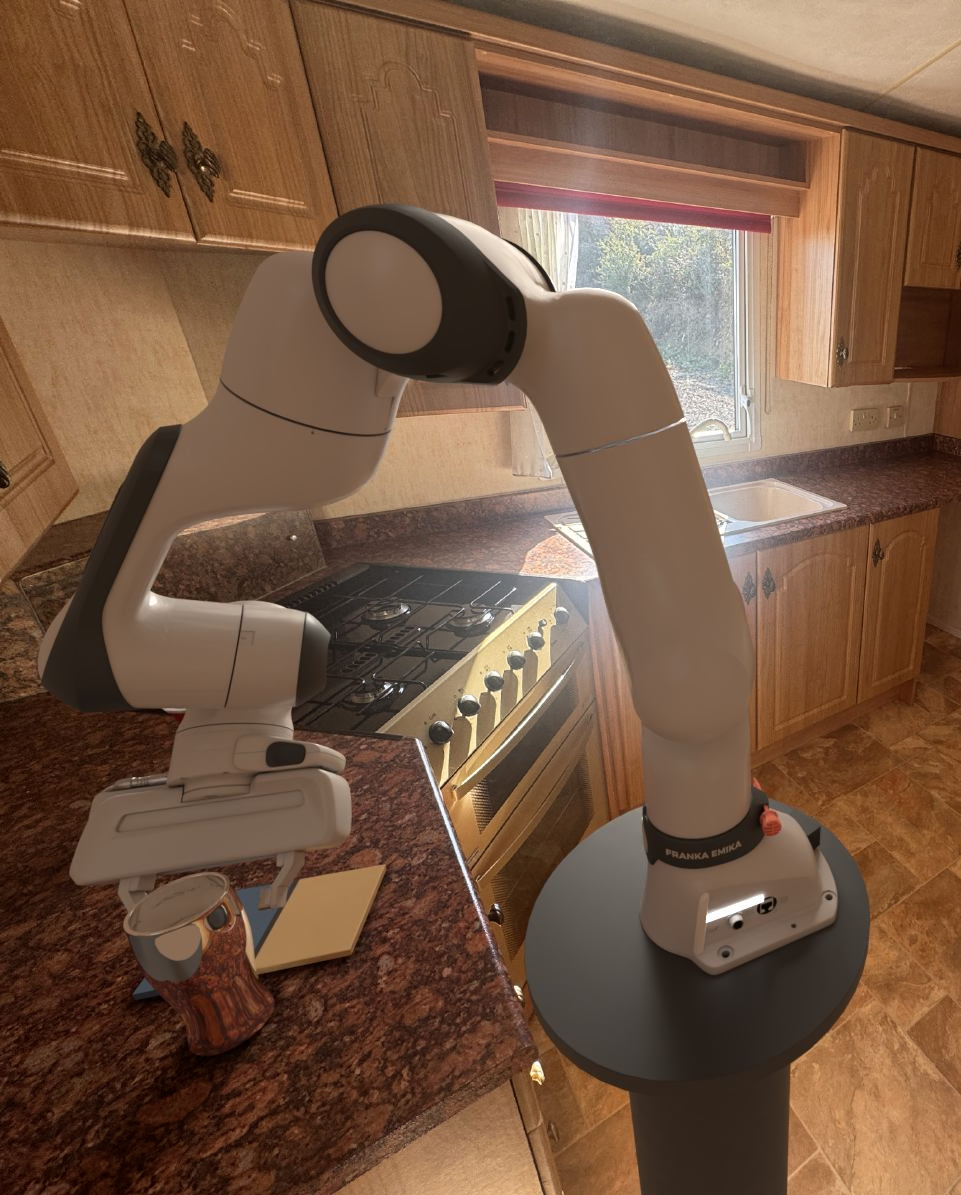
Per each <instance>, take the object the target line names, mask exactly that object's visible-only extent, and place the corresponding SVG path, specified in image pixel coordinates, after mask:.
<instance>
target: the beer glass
mask: <svg viewBox="0 0 961 1195" xmlns="http://www.w3.org/2000/svg"><path fill="white" fill-rule="evenodd" d="M122 927H123V930H124V932H125V934H126V937H127V940H128V944H129V946H130V947H129V948H130V949H131V953H132V956H133V958H134V960H135V963H136V964H137V967H138V969H139V971H140V972H141V974H142V976H143V977H144V978H145V979H146V980H147V981H148V982H149V984H150V985H151V986H152V987H153V988H154V990H155V991H156V992H157V993H158V994H159V995H158V996H160V997H161V998H162V999H163V1000H164V1001H165V1002H167V1004H168V1005H170V1006H171V1007H172V1009H174V1010H175V1012H176V1013H178V1015H179V1016H180V1018H181V1019H182V1021H183V1023H184V1025H185V1029H186V1037H187V1045H188V1049H189V1051H190V1052H191V1053H193V1054H194V1055H195V1056H199V1057H213V1056H217V1055H221V1054H224V1053H226V1052H228V1051H231V1050H233V1049H235V1048H237V1047H239V1046H240V1045H242V1044H244V1043H245V1042H247V1041H248V1040H249V1039H251V1038H252V1037H253V1036H255V1035H256V1034H257V1033H258V1032H259V1031H260V1030H262V1028H263V1027H264V1026H265V1025H266V1023H267V1022H268V1021H269V1019H270V1017H272V1016H271V1015H272V1014H273V1012H274V1009H275V1003H276V1002H275V997H274V995H273V993H272V992H271V990H269V988H268V987H267V986H266V985H265V984H264V983H263V981H261V978H260V977H259V974H257V971H256V965H255V955H254V945H253V936H252V931H251V925H250V922H249V919H248V916H247V913H246V911H245V909H244V907H243V904H242V902H241V900H240V899H239V897H238V895H237V893H236V892H235V889H234V887H233V885H232V883H231V882H230V878H229V877H228V876H227V875H226V874H225V873H222V872H219V871H202V872H197V873H192V874H189V875H185V876H182V877H180V878H177V879H174V880H173V881H170V882H168V883H166V884H164V885H162V886H160V887H158V888H156V889H155V890H152V891H151V892H150V893H148V894H147V896H145V897H144V898H143V899H141V900H140V901H139V902H138V903H137V904H136V905H135V906H134V907H133V908H132V909H131V910H130V911H129V912H128V911H127V913H126V915H125V917H124V919H123V923H122Z"/></svg>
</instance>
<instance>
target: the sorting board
mask: <svg viewBox="0 0 961 1195" xmlns="http://www.w3.org/2000/svg"><path fill="white" fill-rule="evenodd" d="M386 871H387V866H386V864H385V863H384V864H379V865H378V864H377V865H373V866H367V867H361V868H356V869H351V870H345V871H338V872H332V873H327V874H322V875H316V876H311V877H305V878H297V879H294V880H293V881H292V883H291V884H290V886H288V889H287V898H286V904H285V906H284V907H280V908H275V909H269V910H261V911H259V910H258V908H257V905H258V902H259V901H260V899H259V898H258V897H259V890H261V889H266V888H271V887H270V886H271V885H272V883H270V884H265V885H258V886H253V887H252V886H251V887H248V888H241V889H236V890H235V889H234V890H235V892H236V893H237V895H238V897H239V899H240V900H241V902H242V904H243V907H244V909H245V911H246V913H247V916H248V919H249V922H250V925H251V931H252V936H253V945H254V955H255V965H256V971H257V974H258V975H262V974H267V973H273V972H276V971H281V970H287V969H291V968H295V967H300V966H305V965H311V964H315V963H320V962H325V961H329V960H334V959H339V958H345V957H348V956H349V957H350V956H352V955H353V953H354V950H355V948H356V945H357V943H358V940H359V939H360V936H361V933H362V930H363V928H364V927H365V926H364V925H365V923H366V921H367V918H368V915H369V914H370V911H371V908H372V906H373V903H374V901H375V898H376V896H377V893H378V892H379V891H378V890H379V888H380V886H381V884H382V882H383V879H384V876H385V874H386ZM131 996H132V997H133V1000H134V1001H139V1000H143V999H148V998H153V997H159V996H160V995H159V994H158V993H157V992H156V991H155V990H154V988H153V987H152V986H151V985H150V984H149V982H148V981H147V980H146V979H145V977H144V978H143V979H142V981H141V982H140V983H139V984H138V985H137V987H136V989H135V990H134V992H132V994H131Z"/></svg>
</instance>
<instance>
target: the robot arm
mask: <svg viewBox="0 0 961 1195" xmlns="http://www.w3.org/2000/svg"><path fill="white" fill-rule="evenodd" d="M314 247H315V248H314V250H313V251H309V250H285V251H280V252H278V253H274V254H272V255H270V256H268V257H266V258H265V259H264V260H263V261H262V262H261V263H260V264H259V266H258V267H257V268H256V269H255V272H254V274H253V276H252V278H251V280H250V281H249V283H248V286H247V288H246V290H245V291H244V292H245V293H244V294H243V297H242V300H241V301H240V304H239V307H238V309H237V312H236V315H235V317H234V320H233V323H232V326H231V329H230V332H229V336H228V340H227V344H226V348H225V351H224V355H223V360H222V365H221V369H220V370H221V371H220V375H219V379H218V383H217V387H216V391H215V393H214V395H213V397H212V398H211V400H210V401H209V403H208V404H207V405H206V406H205V407H204V409H202V411H200V412H199V413H198V414H197V415H195V417H193V418H191V419H190V420H188V421H187V422H185V423H183V424H182V423H178V424H177V423H176V424H170V425H163V426H159V427H157V429H155V430H154V431H153V432H152V433H151V434H150V435H149V436H148V437H147V439H146V440H145V441H144V442H143V444H142V445H141V446H140V448H139V450H138V451H137V453H136V455H135V457H134V459H133V461H132V462H131V463H132V464H131V465H130V468H129V470H128V472H127V474H126V477H125V479H124V480H123V481H122V483H121V484H120V486H119V487H118V489H117V491H116V493H115V496H114V498H113V501H112V502H111V505H110V507H109V509H108V512H107V514H106V516H105V518H104V520H103V524H102V526H101V527H100V531H99V532H98V534H97V537H96V539H95V542H94V544H93V546H92V549H91V551H90V554H89V556H88V557H87V560H86V562H85V566H84V568H83V569H82V572H81V575H82V576H81V578H80V581H79V583H78V585H77V587H76V590H75V592H74V593H73V595H72V596H71V597H70V599H69V600H68V601H67V603H65V605H64V606H63V607H62V609H60V611H59V612H58V613H57V615H56V616H55V617H54V618H53V620H52V622H51V623H50V625H49V626H48V628H47V630H46V632H45V635H44V636H43V638H42V641H41V644H40V647H39V650H38V657H37V669H38V670H37V671H38V676H39V678H40V685H41V686H42V687H43V688H44V689H45V690H46V691H48V692H49V693H50V694H51V695H53V696H54V697H56V698H57V699H58V700H60V701H61V702H63V703H65V704H66V705H68V706H70V707H72V708H73V709H76V710H77V711H79V712H81V713H84V714H86V713H87V714H88V713H105V712H126V711H138V710H141V709H162V708H165V709H186V712H185V715H184V718H183V720H182V722H181V724H179V725H178V727H177V729H176V731H175V735H174V741H173V746H172V752H171V757H170V762H169V767H168V772H164V773H156V774H152V775H151V774H150V775H146V776H141V777H136V776H135V777H133V776H132V777H126V778H125V777H124V778H121V779H118V780H116V781H115V782H114V784H112V785H109V786H107V787H105V788H104V789H102V790H101V791H100V792H99V793H98V794H96V795H95V796H94V798H93V800H92V802H91V805H90V810H89V815H88V820H87V822H86V824H85V826H84V829H83V830H82V832H81V835H80V838H79V841H78V843H77V846H76V848H75V851H74V854H73V857H72V860H71V862H70V867H69V870H68V871H69V872H68V873H69V874H68V875H69V876H70V879H71V880H72V881H73V882H74V883H75V885H76V886H81V887H85V886H86V887H98V886H109V885H115V884H119V885H118V888H117V895H118V897H119V899H120V901H121V902H122V904H123V906H124V907H125V909H126V911H127V913H128V912H129V911H130V910H131V909H132V908H133V907H134V906H135V905H136V904H137V903H138V902H139V901H140V900H141V899H143V898H144V897H145V896H147V895H148V894H147V892H148V891H154V889H155V884H156V881H157V877H163V876H168V875H176V874H180V873H181V874H182V873H187V872H194V871H199V870H205V869H211V868H217V867H223V866H229V865H235V864H243V863H249V862H254V861H259V860H260V861H261V860H266V859H272V858H276V862H275V863H276V864H275V866H276V867H279V868H280V867H281V869H280V871H279V872H278V874H277V875H276V877H275V878H274V880H273V882H272V883H271V884H272V885H271V886H270V887H271V888H266V889H261V890H259V897H258V898H259V899H260V901H259V902H258V905H257V908H258V910H259V911H261V910H269V909H275V908H280V907H284V906H285V904H286V898H287V889H288V886H290V884H291V883H292V881H293V880H295V879H296V877H297V876H298V874H299V873H300V871H301V870H302V868H303V867H304V866H305V863H306V862H305V861H306V860H305V859H306V853H310V852H316V851H321V850H326V849H328V850H329V849H333V848H339V847H340V846H342V845H343V844H344V843H345V841H346V840H347V839H348V838H349V836H350V835H351V832H352V819H353V818H352V815H353V813H352V811H353V810H352V809H353V808H352V794H351V787H350V785H349V783H348V781H347V780H346V778H344V777H343V776H341V775H340V774H342V773H343V772H344V771H345V769H346V762H347V760H346V756H345V755H343V753H341V752H340V751H337V750H335V749H333V748H331V747H328V746H326V745H322V744H318V743H314V742H311V741H310V742H308V741H302V740H295V739H294V732H295V729H294V728H295V727H294V724H293V720H292V709H293V708H298V707H300V706H301V705H303V704H305V703H306V702H308V701H309V700H311V699H312V698H314V697H315V696H317V695H318V694H320V693H321V692H323V691H324V690H325V689H326V687H327V686H326V685H327V665H328V664H327V662H328V649H329V644H330V642H331V638H332V635H331V633H330V632H329V631H328V630H327V628H325V626H324V625H323V624H322V623H321V622H320V621H319V620H318V619H317V618H316V617H315V616H313V614H311V613H309V612H307V611H302V610H298V609H294V608H286V607H285V606H283V605H280V604H276V603H273V602H269V601H263V600H237V601H232V602H216V601H206V600H197V599H196V600H195V599H186V598H185V599H183V598H175V597H169V596H164V595H160V594H158V593H156V592H153V591H152V590H151V589H152V587H153V585H154V583H155V581H156V578H157V577H158V575H159V573H160V570H161V568H162V566H163V564H164V561H165V559H166V558H167V555H168V553H169V551H170V549H171V547H172V545H173V543H174V541H175V540H176V539H177V537H178V536H179V535H180V534H181V533H183V532H184V531H185V530H187V529H189V528H191V527H193V526H195V525H198V524H202V523H204V522H209V521H213V520H218V519H223V518H230V517H237V516H244V515H256V514H263V513H264V514H267V513H283V512H284V513H285V512H299V511H300V512H301V511H307V510H313V509H318V508H321V507H322V508H323V507H325V506H330V505H332V504H336V503H338V502H340V501H342V500H346V499H347V498H349V497H351V496H353V495H354V494H357V493H358V492H360V491H361V490H363V489H364V488H365V487H366V486H368V485H369V484H370V483H371V482H372V481H373V479H374V478H375V476H376V474H377V472H378V471H379V468H380V466H381V464H382V462H383V460H384V458H385V454H386V452H387V449H388V447H389V446H388V445H389V443H390V441H391V435H392V434H393V430H394V425H395V421H396V418H397V413H398V410H399V405H400V403H401V399H402V396H403V393H404V391H405V388H406V386H407V385H408V383H409V381H410V380H414V381H420V382H425V383H426V382H427V383H434V384H463V385H476V386H491V387H492V386H498V385H500V384H502V383H503V382H504V381H505V382H507V383H509V384H511V385H513V386H515V387H516V388H517V389H518V390H520V391H521V392H522V393H523V394H524V395H525V396H526V397H527V399H528V400H529V401H530V403H531V404H532V406H533V407H534V409H535V411H536V414H537V415H538V417H539V419H540V422H541V424H542V427H543V429H544V432H545V435H546V437H547V440H548V442H549V445H550V447H551V450H552V453H553V455H555V456H554V457H555V460H556V462H557V465H558V468H559V470H560V472H561V475H562V477H563V480H564V482H565V485H566V488H567V490H568V493H569V495H570V497H571V500H572V503H573V505H574V508H575V510H576V513H577V515H578V517H579V520H580V523H581V525H582V528H583V530H584V533H585V536H586V538H587V539H586V540H587V542H588V545H589V547H590V551H591V554H592V557H593V560H594V564H595V568H596V572H597V576H598V581H599V584H600V588H601V592H602V596H603V600H604V604H605V608H606V611H607V615H608V619H609V622H610V625H611V629H612V634H613V636H614V638H615V639H614V640H615V642H616V646H617V649H618V653H619V656H620V659H621V661H622V662H621V663H622V665H623V668H624V673H625V676H626V680H627V685H628V690H629V693H630V698H631V701H632V705H633V709H634V711H635V713H636V716H637V717H638V719H639V720H640V750H641V763H642V773H643V774H642V776H643V786H644V798H645V799H644V802H643V805H642V806H643V816H642V832H643V842H644V850H645V853H646V856H647V859H648V864H647V876H646V882H645V887H644V891H643V895H642V898H641V901H640V909H639V913H640V920H641V924H642V926H643V929H644V930H645V932H646V934H647V935H648V936H649V938H650V939H651V940H652V941H653V942H654V943H655V944H657V945H658V946H659V947H661V948H663V949H664V950H666V951H668V952H671V953H673V954H677V955H680V956H683V957H686V958H688V959H690V960H692V961H693V962H694V963H695V964H696V965H697V966H698V967H700V968H701V969H702V970H703V971H705V972H706V973H708V974H711V975H718V974H721V973H723V972H725V971H728V970H730V969H732V968H734V967H737V966H739V965H741V964H743V963H746V962H748V961H750V960H753V959H755V958H757V957H759V956H762V955H764V954H766V953H768V952H771V951H773V950H775V949H777V948H780V947H782V946H784V945H786V944H789V943H791V942H793V941H795V940H798V939H800V938H802V937H804V936H807V935H809V934H811V933H813V932H816V931H818V930H820V929H822V928H825V927H827V926H829V925H831V924H832V923H834V921H835V919H836V916H837V912H838V895H837V888H836V884H835V880H834V877H833V874H832V872H831V869H830V867H829V865H828V863H827V861H826V859H825V858H824V856H823V854H822V853H821V851H820V850H819V849H818V846H819V845H820V833H821V826H820V825H818V824H817V823H815V822H814V821H812V820H811V819H809V818H807V817H806V816H804V815H803V814H801V813H800V812H798V811H797V810H795V809H794V810H793V811H791V812H790V813H788V814H785V813H782V812H779V811H776V810H773V809H771V808H769V801H768V798H769V797H768V795H767V793H766V792H765V791H763V790H762V788H761V784H760V783H759V781H758V780H757V778H756V777H753V785H752V764H751V763H752V757H751V756H752V750H751V747H752V745H751V744H752V742H751V740H752V738H751V726H750V724H751V723H750V710H749V706H750V705H749V704H750V700H751V696H752V694H753V688H754V683H755V677H756V669H757V667H756V666H757V663H756V662H757V660H756V655H755V654H756V653H755V648H754V643H753V640H752V634H751V630H750V625H749V621H748V617H747V616H748V615H747V611H746V607H745V603H744V599H743V595H742V592H741V590H740V588H739V587H738V585H737V583H736V582H735V581H734V579H733V575H732V572H731V567H730V564H729V560H728V557H727V553H726V550H725V547H724V543H723V540H722V536H721V533H720V529H719V525H718V522H717V519H716V518H717V517H716V515H715V514H716V513H715V510H714V508H713V504H712V502H711V497H710V495H709V492H708V488H707V485H706V482H705V479H704V475H703V471H702V468H701V465H700V463H699V459H698V455H697V452H696V449H695V445H694V443H693V442H694V441H693V439H692V436H691V433H690V429H689V426H688V422H687V419H686V418H685V416H686V415H685V414H684V410H683V407H682V405H681V401H680V398H679V396H678V393H677V390H676V387H675V385H674V382H673V380H672V377H671V374H670V373H669V369H668V368H667V365H666V363H665V360H664V357H663V356H662V354H661V352H660V350H659V348H658V345H657V344H656V341H655V339H654V337H653V335H652V333H651V331H650V329H649V328H648V326H647V324H646V322H645V320H644V318H643V316H642V314H641V312H640V311H639V310H638V308H637V307H636V306H635V304H634V303H632V302H631V301H630V300H628V299H627V298H626V297H625V296H622V295H621V294H618V293H616V292H613V291H611V290H607V289H603V288H596V287H579V288H572V289H568V290H564V291H558V289H557V287H556V286H555V283H554V281H553V279H552V278H551V276H550V274H549V273H548V271H547V270H546V269H545V268H544V266H543V265H542V264H541V263H540V262H539V260H537V259H536V258H535V256H533V255H532V254H531V253H530V252H528V251H527V250H526V249H524V248H523V247H522V246H521V245H518V244H517V243H515V242H514V241H511V240H509V239H506V238H504V237H501V236H497V235H496V234H493V233H491V232H490V231H488V230H487V229H486V228H484V227H482V226H480V225H478V224H476V223H473V222H471V221H469V220H465V219H462V218H459V217H455V216H452V215H449V214H444V213H439V212H434V211H433V212H432V211H430V210H427V209H425V208H422V207H418V206H415V205H410V204H405V203H375V204H369V205H364V206H360V207H356V208H353V209H351V210H349V211H347V212H345V213H343V214H340V215H339V216H337V217H336V218H335V219H334V220H332V221H331V222H330V223H329V224H328V225H327V226H326V227H325V229H324V230H323V231H322V233H321V235H320V236H319V237H318V240H317V242H316V244H315V246H314ZM827 899H831V900H827ZM726 955H727V956H729V957H727V958H723V956H726Z"/></svg>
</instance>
